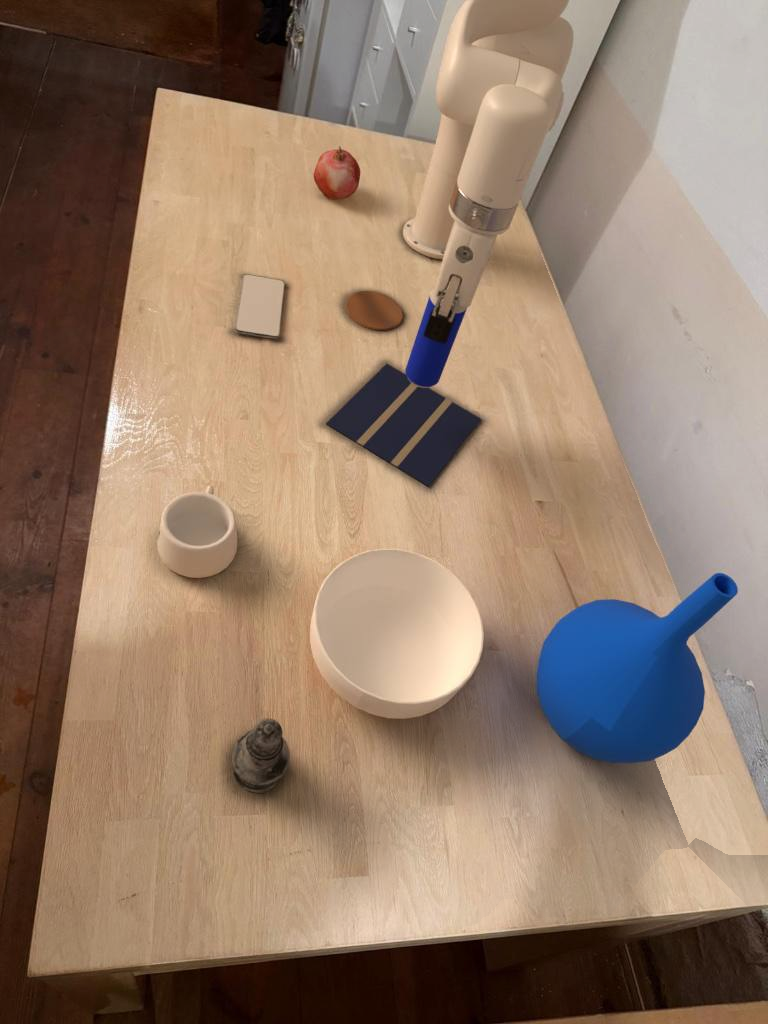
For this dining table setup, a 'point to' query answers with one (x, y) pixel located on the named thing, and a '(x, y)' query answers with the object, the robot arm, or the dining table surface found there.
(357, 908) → the dining table surface
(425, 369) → the beverage can
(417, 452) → the plate
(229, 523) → the mug
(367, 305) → the coaster
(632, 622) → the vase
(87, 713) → the dining table surface
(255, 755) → the dark stone chess piece
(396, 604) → the bowl
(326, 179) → the fruit
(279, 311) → the smartphone
